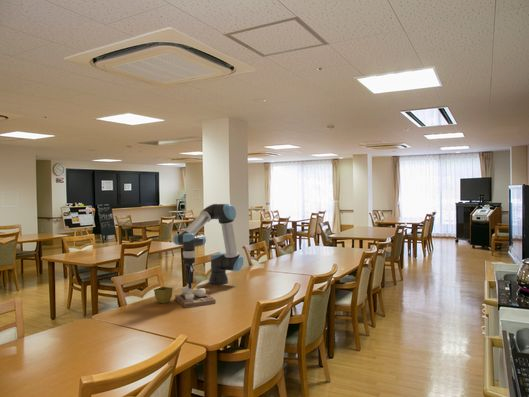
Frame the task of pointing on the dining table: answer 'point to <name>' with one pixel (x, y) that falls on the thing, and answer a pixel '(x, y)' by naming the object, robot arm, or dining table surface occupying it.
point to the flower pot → (163, 294)
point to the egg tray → (195, 300)
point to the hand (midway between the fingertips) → (189, 293)
